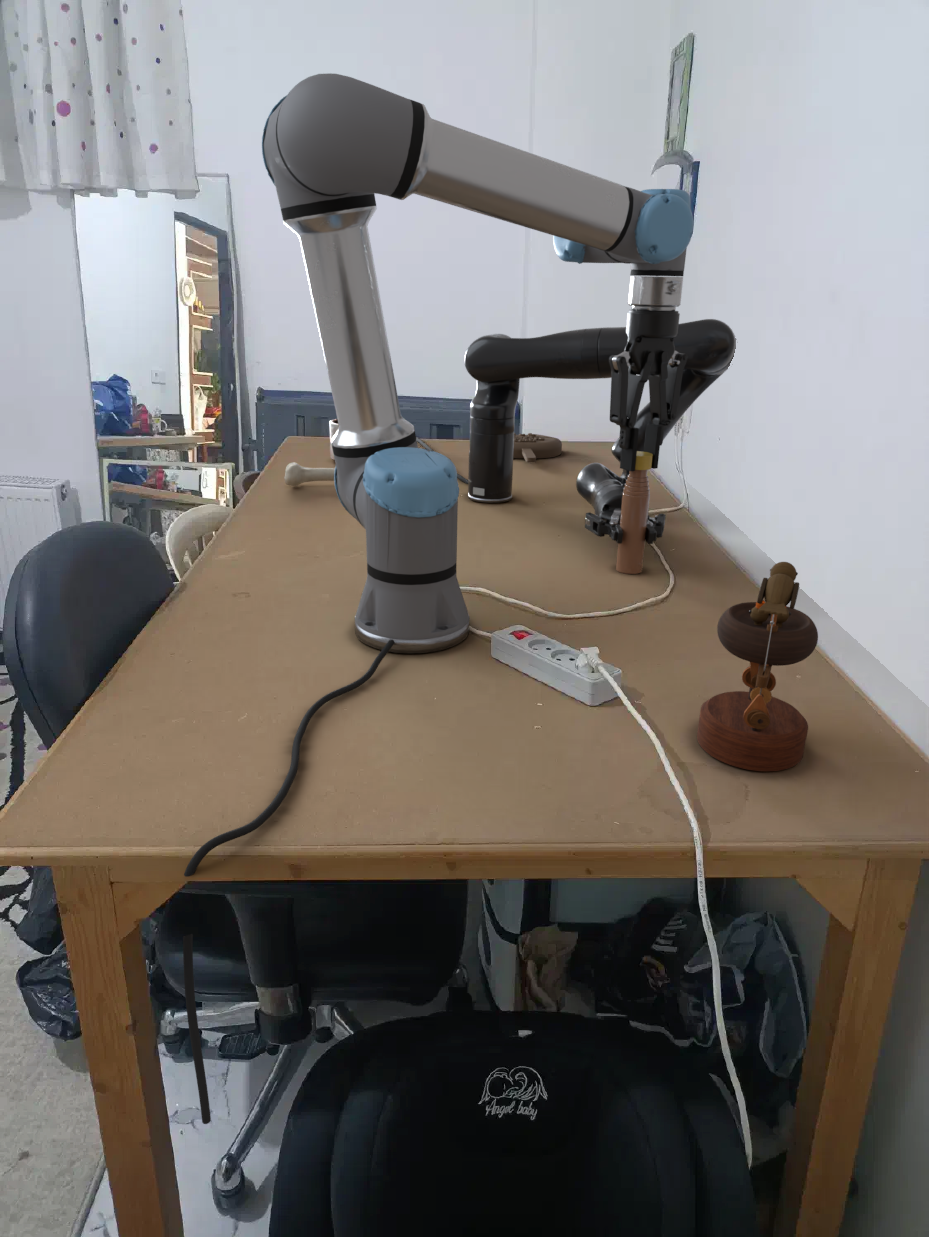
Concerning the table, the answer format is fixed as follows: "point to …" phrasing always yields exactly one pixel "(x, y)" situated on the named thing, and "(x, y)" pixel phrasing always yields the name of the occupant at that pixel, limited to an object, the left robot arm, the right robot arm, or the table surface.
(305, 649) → the table surface
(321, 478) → the dog toy
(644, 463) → the cap
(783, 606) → the music box
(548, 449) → the ice cream bar
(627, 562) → the bottle
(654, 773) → the table surface
